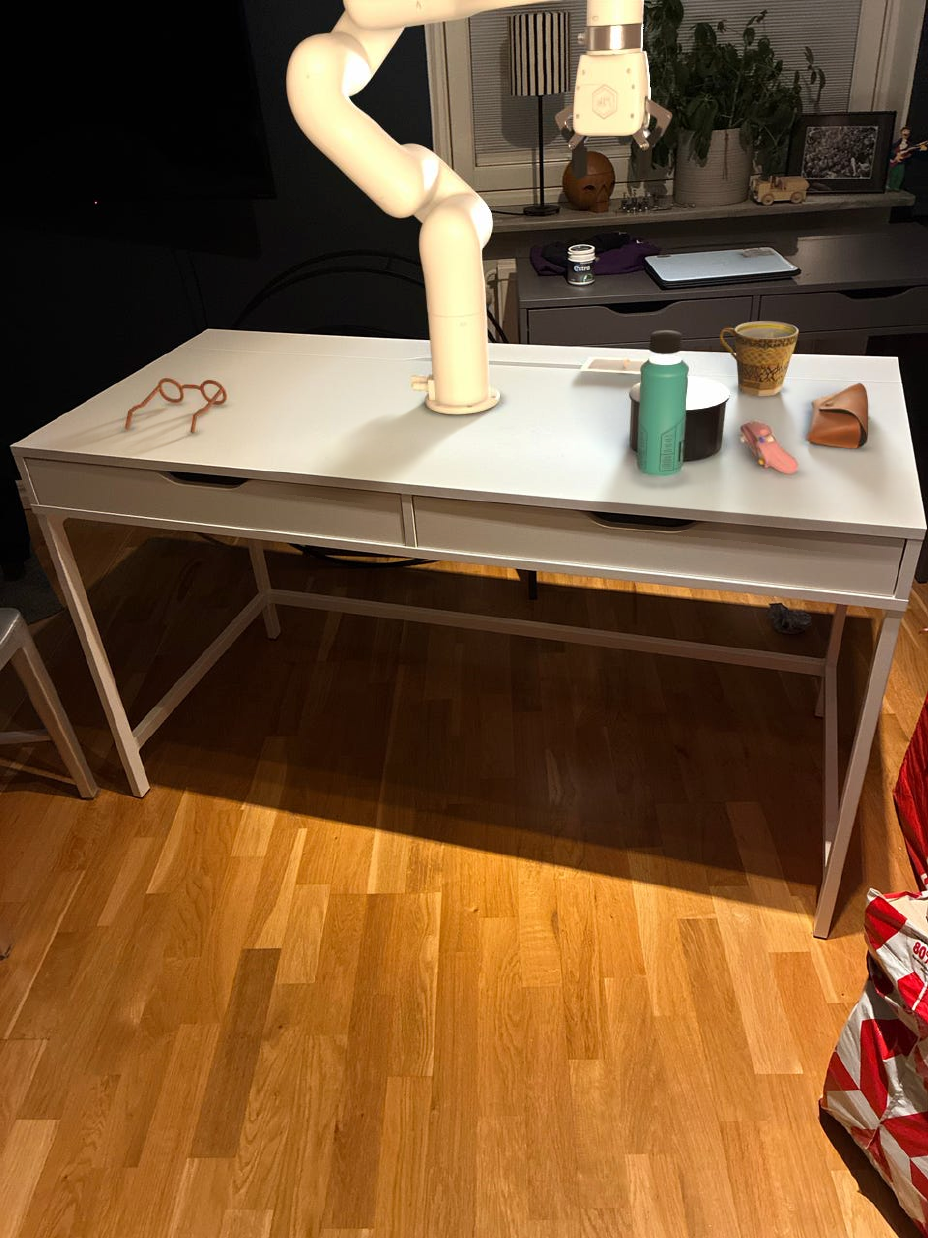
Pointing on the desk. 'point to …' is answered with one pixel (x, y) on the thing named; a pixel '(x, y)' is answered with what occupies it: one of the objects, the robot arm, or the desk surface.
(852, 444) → the sunglasses case
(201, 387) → the glasses
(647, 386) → the beverage bottle
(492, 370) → the desk surface
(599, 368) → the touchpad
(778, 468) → the pink cartoon race car
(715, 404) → the lid
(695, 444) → the black short cylinder
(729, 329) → the ceramic cup
